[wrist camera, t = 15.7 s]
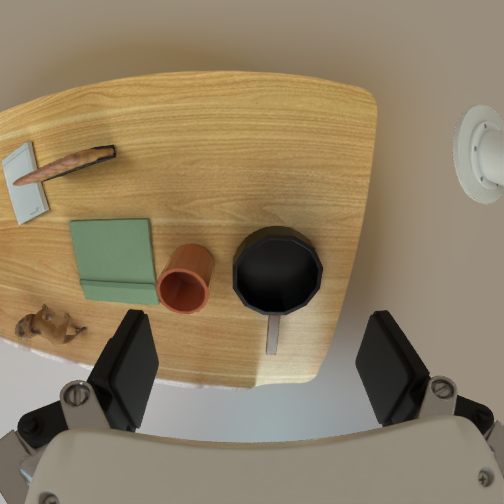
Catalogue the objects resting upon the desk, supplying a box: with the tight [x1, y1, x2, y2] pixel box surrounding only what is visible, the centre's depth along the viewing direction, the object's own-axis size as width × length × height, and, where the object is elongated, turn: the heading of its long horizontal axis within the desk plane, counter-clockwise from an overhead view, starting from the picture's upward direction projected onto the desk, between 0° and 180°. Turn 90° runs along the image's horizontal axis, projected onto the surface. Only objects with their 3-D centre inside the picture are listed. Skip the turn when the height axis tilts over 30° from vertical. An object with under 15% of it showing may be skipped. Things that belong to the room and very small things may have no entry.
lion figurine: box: [15, 304, 87, 347], centre depth 39 cm, size 15×5×9 cm, turn 81°
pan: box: [233, 226, 323, 355], centre depth 40 cm, size 12×20×4 cm, turn 178°
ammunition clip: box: [13, 145, 116, 186], centre depth 27 cm, size 11×2×12 cm, turn 98°
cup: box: [156, 244, 214, 314], centre depth 36 cm, size 6×6×8 cm
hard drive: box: [2, 141, 49, 225], centre depth 32 cm, size 2×8×12 cm
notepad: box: [69, 218, 159, 305], centre depth 39 cm, size 14×14×1 cm
